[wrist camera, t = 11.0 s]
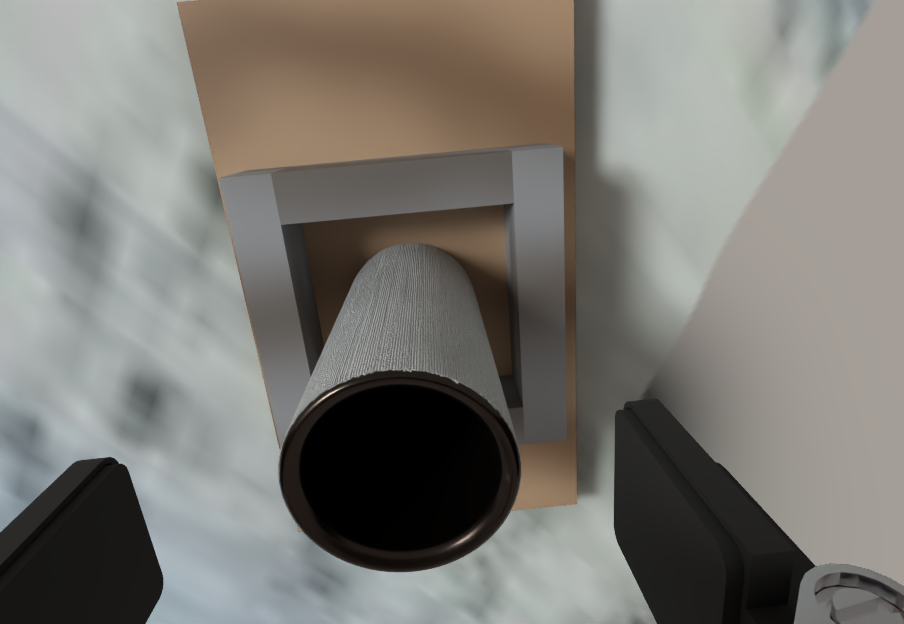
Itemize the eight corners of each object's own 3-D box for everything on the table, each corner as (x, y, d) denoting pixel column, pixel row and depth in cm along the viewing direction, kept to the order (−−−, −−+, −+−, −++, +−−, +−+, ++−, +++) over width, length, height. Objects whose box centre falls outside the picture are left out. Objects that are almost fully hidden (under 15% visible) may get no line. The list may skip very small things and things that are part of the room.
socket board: (569, 486, 24) (593, 547, 21) (304, 512, 24) (284, 579, 20) (564, -23, 17) (598, -59, 14) (193, 9, 17) (133, -19, 14)
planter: (499, 293, 20) (573, 462, 10) (423, 380, 21) (420, 610, 11) (401, 214, 18) (376, 319, 9) (325, 311, 19) (227, 500, 10)
